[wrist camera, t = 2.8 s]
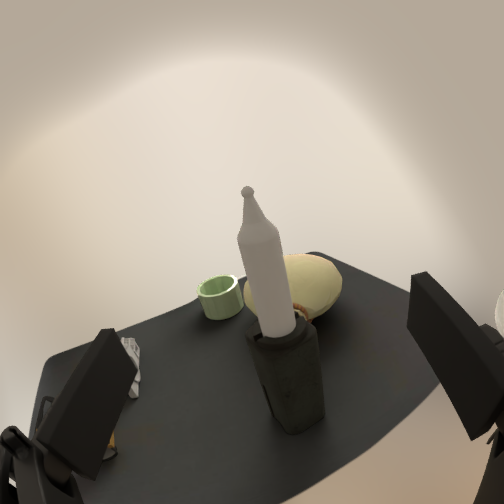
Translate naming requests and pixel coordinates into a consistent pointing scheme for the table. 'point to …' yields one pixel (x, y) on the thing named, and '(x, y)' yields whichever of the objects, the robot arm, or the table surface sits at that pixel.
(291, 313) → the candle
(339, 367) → the table surface
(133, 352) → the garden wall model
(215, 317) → the candle holder
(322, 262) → the flask
